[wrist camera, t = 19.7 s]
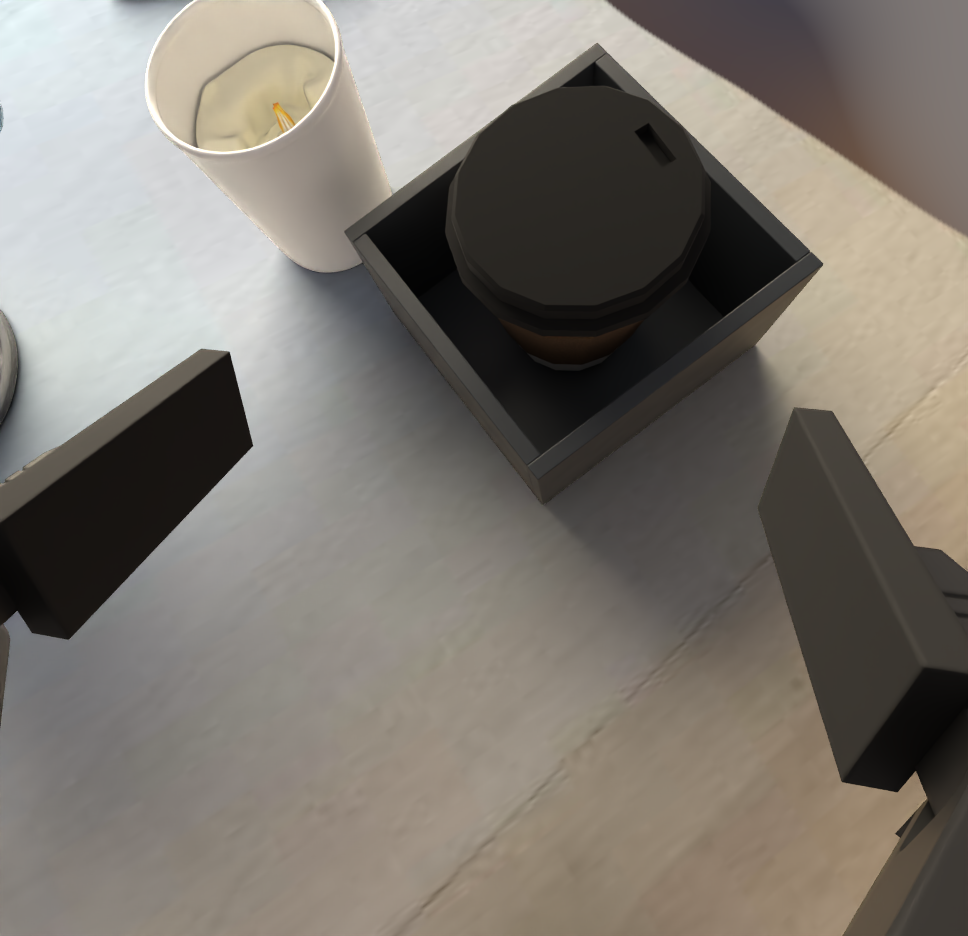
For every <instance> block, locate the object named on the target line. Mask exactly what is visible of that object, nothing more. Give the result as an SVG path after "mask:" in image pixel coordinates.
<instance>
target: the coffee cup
mask: <svg viewBox="0 0 968 936" xmlns="http://www.w3.org/2000/svg"><path fill="white" fill-rule="evenodd" d="M710 231H711V182H710V180H709V177H708V175H707V173H706V171H705V169H704V167H703V164H702V162H701V160H700V158H699V156H698V154H697V152H696V150H695V148H694V146H693V144H692V142H691V139H690V137H689V135H688V133H687V131H686V129H684V128H683V127H682V126H681V125H680V124H678V123H677V122H676V121H675V120H674V119H672V118H671V117H670V116H669V115H668V114H666V113H665V112H664V111H663V110H662V109H660V108H659V107H658V106H657V105H656V104H654V103H653V102H652V101H651V100H648V99H645V98H642V97H639V96H636V95H632V94H629V93H626V92H623V91H620V90H617V89H614V88H610V87H607V86H588V87H562V88H555V89H552V90H550V91H547V92H544V93H542V94H539V95H537V96H534V97H532V98H529V99H526V100H524V101H521V102H519V103H516V104H514V105H512V106H510V107H509V108H508V109H507V110H506V111H505V112H503V113H502V114H501V115H500V116H499V117H498V118H496V119H495V120H494V121H493V122H492V123H491V124H489V125H488V126H487V127H486V128H485V129H484V130H482V131H481V132H480V133H479V134H478V135H477V136H476V137H475V139H474V141H473V143H472V145H471V147H470V149H469V150H468V152H467V154H466V156H465V158H464V160H463V162H462V163H461V165H460V167H459V169H458V171H457V173H456V174H455V177H454V179H453V181H452V182H451V184H450V186H449V194H448V205H447V216H446V227H445V234H446V237H447V240H448V243H449V246H450V249H451V252H452V255H453V257H454V260H455V263H456V266H457V269H458V271H459V274H460V277H461V280H462V283H463V284H464V285H465V286H466V287H467V288H468V289H469V290H470V291H471V292H472V293H473V294H474V295H475V296H476V297H477V298H478V299H479V300H480V301H481V302H482V303H483V304H484V305H485V306H486V307H487V308H488V309H489V310H490V311H491V313H492V314H493V315H494V316H495V317H497V318H498V319H499V320H500V322H501V323H502V325H503V327H504V328H505V330H506V331H507V333H508V334H509V335H510V336H511V337H512V338H513V339H514V340H515V341H516V342H517V343H518V344H519V345H520V347H521V348H522V349H523V350H524V351H525V352H526V353H527V354H528V355H529V356H530V357H531V358H532V359H533V360H534V361H535V362H538V363H540V364H542V365H545V366H547V367H549V368H552V369H554V370H568V371H580V370H583V369H585V368H588V367H591V366H594V365H597V364H599V363H602V362H603V361H604V360H605V359H606V358H607V357H608V356H610V355H611V354H612V353H613V352H614V351H615V350H616V349H617V348H619V346H621V345H622V344H623V343H624V342H625V341H626V340H627V339H629V338H630V337H631V336H632V335H633V333H634V332H635V331H636V330H637V328H638V327H639V326H640V324H641V323H642V322H643V321H644V319H647V318H648V317H649V316H650V315H651V314H652V313H653V312H655V311H656V310H657V309H658V308H659V307H660V306H661V305H663V304H664V303H665V302H666V301H667V300H668V299H669V298H670V297H672V296H673V295H674V294H675V293H676V292H677V291H678V290H680V289H681V288H682V287H683V286H684V285H685V284H686V283H687V280H688V278H689V276H690V274H691V272H692V270H693V268H694V266H695V264H696V262H697V259H698V257H699V255H700V253H701V251H702V249H703V247H704V245H705V243H706V241H707V238H708V236H709V233H710Z"/></svg>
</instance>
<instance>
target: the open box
mask: <svg viewBox="0 0 968 936" xmlns="http://www.w3.org/2000/svg"><path fill="white" fill-rule="evenodd" d="M588 86H607V87H610V88H614V89H617V90H620V91H623V92H626V93H629V94H632V95H636V96H639V97H642V98H645V99H648V100H651V101H652V102H653V103H654V104H656V105H657V106H658V107H659V108H660V109H662V110H663V111H664V112H665V113H666V114H668V115H669V116H670V117H671V118H672V119H674V120H675V121H676V122H677V123H678V124H680V123H679V122H678V121H677V120H676V119H675V118H674V117H673V116H672V115H671V114H670V113H669V112H667V111H666V110H665V109H664V108H663V107H662V106H661V105H660V104H659V103H658V102H657V101H656V100H655V99H654V98H653V97H652V96H651V95H650V94H649V93H648V92H647V91H646V90H645V89H644V88H643V87H642V86H641V85H640V84H639V83H638V82H637V81H636V80H635V79H634V78H633V77H632V76H631V75H630V74H629V73H628V72H627V71H625V70H624V69H623V68H622V67H621V66H620V65H619V64H618V63H617V62H616V61H615V60H614V59H613V58H612V57H611V56H610V55H609V54H608V53H607V52H606V51H605V50H604V49H603V48H602V47H601V46H600V45H599V44H598V43H596V44H595V45H593V46H592V47H591V48H589V49H588V50H587V51H585V52H584V53H583V54H581V55H580V56H579V57H577V58H576V59H575V60H573V61H572V62H570V63H569V64H568V65H566V66H565V67H564V68H562V69H561V70H560V71H558V72H557V73H556V74H554V75H553V76H552V77H550V78H549V79H548V80H546V81H545V82H544V83H542V84H541V85H540V86H538V87H537V88H536V89H534V90H533V91H532V92H530V93H529V94H528V95H526V96H525V97H523V98H522V99H521V100H519V101H518V102H517V103H519V102H521V101H524V100H526V99H529V98H532V97H534V96H537V95H539V94H542V93H544V92H547V91H550V90H552V89H555V88H562V87H588ZM515 104H516V103H515ZM499 116H500V115H499ZM499 116H498V117H499ZM498 117H497V118H498ZM495 119H496V118H495ZM495 119H494V120H495ZM494 120H493V121H494ZM493 121H491V122H490V123H489V124H491V123H492V122H493ZM489 124H487V125H486V126H485V127H483V128H482V129H480V130H479V131H478V132H476V133H475V134H474V135H472V136H471V137H470V138H468V139H467V140H466V141H464V142H463V143H462V144H460V145H459V146H458V147H456V148H455V149H454V150H452V151H451V152H450V153H448V154H447V155H446V156H444V157H443V158H442V159H440V160H439V161H438V162H436V163H435V164H433V165H432V166H431V167H429V168H428V169H427V170H425V171H424V172H423V173H421V174H420V175H419V176H417V177H416V178H415V179H413V180H412V181H411V182H409V183H408V184H407V185H405V186H404V187H403V188H401V189H400V190H399V191H397V192H396V193H395V194H393V195H392V196H391V197H389V198H388V199H386V200H385V201H384V202H382V203H381V204H380V205H378V206H377V207H376V208H374V209H373V210H372V211H370V212H369V213H368V214H366V215H365V216H364V217H362V218H361V219H360V220H358V221H357V222H356V223H354V224H353V225H352V226H350V227H349V228H348V229H346V230H345V231H344V233H345V234H346V236H347V237H348V239H349V241H350V242H351V244H352V246H353V247H354V249H355V250H356V252H357V254H358V255H359V257H360V259H361V260H362V262H363V263H364V265H365V267H366V268H367V270H368V271H369V273H370V275H371V276H372V278H373V280H374V281H375V283H376V284H377V286H378V288H379V289H380V291H381V293H382V294H383V296H384V297H385V299H386V301H387V302H388V304H389V306H390V307H391V309H392V310H393V312H394V313H395V315H396V316H397V317H398V319H399V320H400V321H401V322H402V324H403V325H404V326H405V328H406V329H407V330H408V332H409V333H410V334H411V335H412V337H413V338H414V339H415V341H416V342H417V343H418V344H419V346H420V347H421V348H422V350H423V351H424V352H425V354H426V355H427V356H428V357H429V359H430V360H431V361H432V363H433V364H434V365H435V366H436V368H437V369H438V370H439V372H440V373H441V374H442V376H443V377H444V378H445V379H446V381H447V382H448V383H449V385H450V386H451V387H452V388H453V390H454V391H455V392H456V394H457V395H458V396H459V398H460V399H461V400H462V401H463V403H464V404H465V405H466V407H467V408H468V409H469V410H470V412H471V413H472V414H473V416H474V417H475V418H476V420H477V421H478V422H479V423H480V425H481V426H482V427H483V429H484V430H485V431H486V432H487V434H488V435H489V436H490V438H491V439H492V440H493V442H494V443H495V444H496V445H497V447H498V448H499V449H500V451H501V452H502V453H503V454H504V456H505V457H506V458H507V460H508V461H509V462H510V464H511V465H512V466H513V467H514V469H515V470H516V471H517V473H518V474H519V475H520V476H521V478H522V479H523V480H524V482H525V483H526V484H527V486H528V487H529V488H530V489H531V491H532V492H533V493H534V495H535V496H536V497H537V498H538V500H539V501H540V502H541V504H542V505H544V504H545V503H547V502H548V501H549V500H551V499H552V498H553V497H555V496H556V495H557V494H559V493H560V492H561V491H563V490H564V489H565V488H567V487H568V486H569V485H571V484H572V483H573V482H575V481H576V480H577V479H578V478H580V477H581V476H582V475H584V474H585V473H586V472H588V471H589V470H590V469H592V468H593V467H594V466H596V465H597V464H598V463H600V462H601V461H602V460H604V459H605V458H606V457H608V456H609V455H610V454H612V453H613V452H614V451H616V450H617V449H618V448H619V447H621V446H622V445H623V444H625V443H626V442H627V441H629V440H630V439H631V438H633V437H634V436H635V435H637V434H638V433H639V432H641V431H642V430H643V429H645V428H646V427H647V426H649V425H650V424H651V423H653V422H654V421H655V420H657V419H658V418H659V417H660V416H662V415H663V414H664V413H666V412H667V411H668V410H670V409H671V408H672V407H674V406H675V405H676V404H678V403H679V402H680V401H682V400H683V399H684V398H686V397H687V396H688V395H690V394H691V393H692V392H694V391H695V390H696V389H698V388H699V387H700V386H701V385H703V384H704V383H705V382H707V381H708V380H709V379H711V378H712V377H713V376H715V375H716V374H717V373H719V372H720V371H721V370H723V369H724V368H725V367H727V366H728V365H729V364H731V363H732V362H733V361H735V360H736V359H737V358H739V357H740V356H741V355H742V354H744V353H745V352H746V351H748V350H749V349H750V348H752V347H753V346H754V345H756V343H757V342H758V341H759V340H760V339H761V338H762V336H763V335H764V334H765V333H766V332H767V330H768V329H769V328H770V327H771V326H772V325H773V323H774V322H775V321H776V320H777V319H778V317H779V316H780V315H781V314H782V313H783V312H784V310H785V309H786V308H787V307H788V306H789V305H790V303H791V302H792V301H793V300H794V299H795V297H796V296H797V295H798V294H799V293H800V292H801V290H802V289H803V288H804V287H805V286H806V284H807V283H808V282H809V281H810V280H811V279H812V277H813V276H814V275H815V274H816V273H817V272H818V270H819V269H820V268H821V267H822V266H823V263H822V262H821V261H820V260H819V259H818V258H817V257H816V256H815V255H814V254H813V253H812V252H810V250H809V249H808V248H807V247H806V246H805V245H804V244H803V243H802V242H801V241H800V240H799V239H798V238H797V237H796V236H795V235H793V234H792V233H791V232H790V231H789V230H788V229H787V228H786V227H785V226H784V225H783V224H782V223H781V222H780V221H779V220H778V219H777V218H776V217H775V216H774V215H773V214H772V213H771V212H770V211H769V210H768V209H767V208H766V207H765V206H764V205H763V204H762V203H761V202H760V201H759V200H758V199H757V198H756V197H755V196H754V195H753V194H751V193H750V192H749V191H748V190H747V189H746V188H745V187H744V186H743V185H742V184H741V183H740V182H739V181H738V180H737V179H736V178H735V177H734V176H733V175H732V174H731V173H730V172H729V171H728V170H727V169H726V168H725V167H724V166H723V165H722V164H721V163H720V162H719V161H718V160H717V159H716V158H715V157H714V156H713V155H712V154H711V153H709V152H708V151H707V150H706V149H705V148H704V147H703V146H702V145H701V144H700V143H699V142H698V141H697V140H696V139H695V138H694V137H693V136H692V135H691V134H690V133H689V132H688V131H687V130H686V131H687V133H688V135H689V137H690V139H691V142H692V144H693V146H694V148H695V150H696V152H697V154H698V156H699V158H700V160H701V162H702V164H703V167H704V169H705V171H706V173H707V175H708V177H709V180H710V182H711V231H710V233H709V236H708V238H707V241H706V243H705V245H704V247H703V249H702V251H701V253H700V255H699V257H698V259H697V262H696V264H695V266H694V268H693V270H692V272H691V274H690V276H689V278H688V280H687V283H686V284H685V285H684V286H683V287H682V288H681V289H680V290H678V291H677V292H676V293H675V294H674V295H673V296H672V297H670V298H669V299H668V300H667V301H666V302H665V303H664V304H663V305H661V306H660V307H659V308H658V309H657V310H656V311H655V312H653V313H652V314H651V315H650V316H649V317H648V318H647V319H644V321H643V322H642V323H641V324H640V326H639V327H638V328H637V330H636V331H635V332H634V333H633V335H632V336H631V337H630V338H629V339H627V340H626V341H625V342H624V343H623V344H622V345H621V346H619V348H617V349H616V350H615V351H614V352H613V353H612V354H611V355H610V356H608V357H607V358H606V359H605V360H604V361H603V362H602V363H599V364H597V365H594V366H591V367H588V368H585V369H583V370H580V371H568V370H554V369H552V368H549V367H547V366H545V365H542V364H540V363H538V362H535V361H534V360H533V359H532V358H531V357H530V356H529V355H528V354H527V353H526V352H525V351H524V350H523V349H522V348H521V347H520V345H519V344H518V343H517V342H516V341H515V340H514V339H513V338H512V337H511V336H510V335H509V334H508V333H507V331H506V330H505V328H504V327H503V325H502V323H501V322H500V320H499V319H498V318H497V317H495V316H494V315H493V314H492V313H491V311H490V310H489V309H488V308H487V307H486V306H485V305H484V304H483V303H482V302H481V301H480V300H479V299H478V298H477V297H476V296H475V295H474V294H473V293H472V292H471V291H470V290H469V289H468V288H467V287H466V286H465V285H464V284H463V283H462V280H461V277H460V274H459V271H458V269H457V266H456V263H455V260H454V257H453V255H452V252H451V249H450V246H449V243H448V240H447V237H446V234H445V227H446V216H447V205H448V194H449V186H450V184H451V182H452V181H453V179H454V177H455V174H456V173H457V171H458V169H459V167H460V165H461V163H462V162H463V160H464V158H465V156H466V154H467V152H468V150H469V149H470V147H471V145H472V143H473V141H474V139H475V137H476V136H477V135H478V134H479V133H480V132H481V131H482V130H484V129H485V128H486V127H487V126H488V125H489ZM680 125H681V124H680ZM681 126H682V125H681ZM682 127H683V126H682ZM683 128H684V127H683ZM684 129H685V128H684Z"/></svg>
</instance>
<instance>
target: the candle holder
mask: <svg viewBox="0 0 968 936" xmlns="http://www.w3.org/2000/svg"><path fill="white" fill-rule="evenodd" d="M145 94H146V101H147V105H148V108H149V111H150V114H151V116H152V118H153V120H154V122H155V124H156V125H157V127H158V128H159V130H160V131H161V132H162V134H163V135H164V136H165V137H166V138H167V139H168V140H169V141H170V142H171V143H172V144H174V145H175V146H176V147H177V148H179V149H180V150H181V151H182V152H183V153H184V154H185V155H186V156H187V157H188V158H189V159H190V160H191V161H192V162H193V163H194V164H195V165H196V166H197V167H198V168H199V169H200V170H201V171H202V172H203V173H204V174H205V175H206V176H207V177H208V178H209V179H210V180H211V181H212V182H213V183H214V184H215V185H216V186H217V187H218V188H219V189H220V190H221V191H222V192H223V193H224V194H225V195H226V196H227V197H228V198H229V199H230V200H231V201H232V202H233V203H234V204H235V205H236V206H237V207H238V208H239V209H240V210H241V211H242V212H243V213H244V214H245V215H246V216H247V217H248V218H249V219H250V220H251V221H252V222H253V223H254V224H255V225H256V226H257V227H258V228H259V229H260V230H261V231H262V232H263V233H264V234H265V235H266V236H267V237H268V238H269V239H270V240H271V241H272V242H273V243H274V244H275V245H276V246H277V247H278V248H279V249H280V250H281V251H282V252H283V253H284V254H285V255H286V256H287V257H289V258H290V259H291V260H292V261H294V262H295V263H296V264H298V265H300V266H302V267H304V268H306V269H309V270H312V271H317V272H326V273H329V272H339V271H343V270H347V269H350V268H353V267H355V266H357V265H359V264H361V263H362V260H361V259H360V257H359V255H358V254H357V252H356V250H355V249H354V247H353V246H352V244H351V242H350V241H349V239H348V237H347V236H346V234H345V233H344V231H345V230H346V229H348V228H349V227H350V226H352V225H353V224H354V223H356V222H357V221H358V220H360V219H361V218H362V217H364V216H365V215H366V214H368V213H369V212H370V211H372V210H373V209H374V208H376V207H377V206H378V205H380V204H381V203H382V202H384V201H385V200H386V199H388V198H389V197H391V196H392V191H391V188H390V185H389V181H388V178H387V175H386V172H385V169H384V166H383V163H382V160H381V157H380V154H379V151H378V148H377V145H376V142H375V139H374V136H373V133H372V130H371V128H370V125H369V122H368V119H367V116H366V113H365V110H364V107H363V104H362V101H361V98H360V95H359V92H358V89H357V86H356V83H355V80H354V77H353V74H352V72H351V69H350V66H349V63H348V60H347V57H346V54H345V51H344V48H343V43H342V38H341V34H340V31H339V28H338V26H337V23H336V21H335V19H334V17H333V15H332V14H331V12H330V11H329V9H328V8H327V7H326V6H325V4H324V3H323V2H322V1H321V0H194V1H193V2H191V3H190V4H189V5H187V6H186V7H185V8H184V9H183V10H181V11H180V12H179V13H178V14H177V15H176V16H175V17H174V18H173V19H172V21H171V22H170V23H169V24H168V25H167V27H166V28H165V29H164V31H163V32H162V34H161V35H160V37H159V39H158V40H157V42H156V44H155V46H154V48H153V50H152V53H151V55H150V58H149V62H148V65H147V70H146V77H145Z"/></svg>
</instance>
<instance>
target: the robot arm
mask: <svg viewBox="0 0 968 936" xmlns="http://www.w3.org/2000/svg"><path fill="white" fill-rule="evenodd" d="M2 127H3V110H2V106H1V102H0V132H1V129H2ZM17 370H18V355H17V347H16V342H15V338H14V334H13V331H12V329H11V326H10V324H9V322H8V320H7V318H6V317H5V315H4V314H3V312H2V311H1V310H0V425H1V423H2V421H3V420H4V418H5V416H6V413H7V411H8V409H9V406H10V403H11V400H12V397H13V394H14V390H15V386H16V379H17ZM252 447H253V443H252V439H251V435H250V431H249V427H248V423H247V419H246V415H245V411H244V407H243V403H242V399H241V395H240V391H239V387H238V384H237V380H236V376H235V372H234V368H233V364H232V360H231V356H230V352H228V351H218V350H207V349H200V350H199V351H197V352H196V353H194V354H193V355H191V356H190V357H189V358H187V359H186V360H184V361H183V362H181V363H180V364H178V365H177V366H176V367H174V368H173V369H171V370H170V371H168V372H167V373H165V374H164V375H162V376H161V377H160V378H158V379H157V380H155V381H154V382H152V383H151V384H149V385H148V386H147V387H145V388H144V389H142V390H141V391H139V392H138V393H136V394H135V395H133V396H132V397H131V398H129V399H128V400H126V401H125V402H123V403H122V404H120V405H119V406H118V407H116V408H115V409H113V410H112V411H110V412H109V413H107V414H106V415H104V416H103V417H102V418H100V419H99V420H97V421H96V422H94V423H93V424H91V425H90V426H89V427H87V428H86V429H84V430H83V431H81V432H80V433H78V434H77V435H75V436H74V437H73V438H71V439H70V440H68V441H67V442H65V443H64V444H62V445H61V446H59V447H56V448H54V449H52V450H49V451H47V452H45V453H43V454H42V455H40V456H39V457H37V458H36V459H34V460H33V461H32V462H30V463H29V464H27V465H26V466H24V467H23V470H22V471H17V472H15V473H14V474H12V475H11V476H10V477H8V478H7V479H5V483H0V726H1V717H2V708H3V700H4V691H5V682H6V673H7V665H8V656H9V647H10V636H9V632H8V630H7V629H6V627H5V626H4V623H5V622H6V621H7V620H8V619H9V618H10V617H11V616H12V615H13V614H14V613H16V612H17V611H18V612H19V614H20V615H21V617H22V618H23V620H24V621H25V623H26V624H27V626H28V628H29V629H30V631H31V632H32V633H35V634H40V635H45V636H51V637H56V638H62V639H67V640H69V639H70V638H71V637H72V636H73V635H74V634H75V633H76V632H77V631H78V630H79V629H80V627H81V626H82V625H83V624H84V623H85V622H86V621H87V620H88V619H89V618H90V617H91V616H92V615H93V614H94V613H95V612H96V611H97V610H98V609H99V607H100V606H101V605H102V604H103V603H104V602H105V601H106V600H107V599H108V598H109V597H110V596H111V595H112V594H113V593H114V592H115V591H116V590H117V589H118V587H119V586H120V585H121V584H122V583H123V582H124V581H125V580H126V579H127V578H128V577H129V576H130V575H131V574H132V573H133V572H134V571H135V570H136V569H137V568H138V566H139V565H140V564H141V563H142V562H143V561H144V560H145V559H146V558H147V557H148V556H149V555H150V554H151V553H152V552H153V551H154V550H155V549H156V548H157V546H158V545H159V544H160V543H161V542H162V541H163V540H164V539H165V538H166V537H167V536H168V535H169V534H170V533H171V532H172V531H173V530H174V529H175V528H176V526H177V525H178V524H179V523H180V522H181V521H182V520H183V519H184V518H185V517H186V516H187V515H188V514H189V513H190V512H191V511H192V510H193V509H194V508H195V506H196V505H197V504H198V503H199V502H200V501H201V500H202V499H203V498H204V497H205V496H206V495H207V494H208V493H209V492H210V491H211V490H212V489H213V488H214V486H215V485H216V484H217V483H218V482H219V481H220V480H221V479H222V478H223V477H224V476H225V475H226V474H227V473H228V472H229V471H230V470H231V469H232V468H233V466H234V465H235V464H236V463H237V462H238V461H239V460H240V459H241V458H242V457H243V456H244V455H245V454H246V453H247V452H248V451H249V450H250V449H251V448H252ZM758 511H759V515H760V518H761V521H762V524H763V528H764V531H765V534H766V537H767V541H768V544H769V547H770V550H771V554H772V557H773V560H774V563H775V567H776V570H777V573H778V576H779V580H780V583H781V586H782V589H783V593H784V596H785V599H786V602H787V606H788V609H789V612H790V615H791V618H792V622H793V625H794V628H795V631H796V635H797V638H798V641H799V644H800V648H801V651H802V654H803V657H804V661H805V664H806V667H807V670H808V674H809V677H810V680H811V683H812V687H813V690H814V693H815V696H816V700H817V703H818V706H819V709H820V713H821V716H822V719H823V722H824V726H825V729H826V732H827V735H828V739H829V742H830V745H831V748H832V751H833V755H834V758H835V761H836V764H837V768H838V771H839V774H840V777H841V781H842V782H844V783H850V784H855V785H861V786H866V787H872V788H877V789H882V790H888V791H893V792H898V791H899V790H900V789H901V788H902V786H903V785H904V784H905V783H906V782H907V780H908V779H909V778H910V777H911V776H912V775H913V773H914V772H915V771H916V772H917V774H918V777H919V779H920V781H921V784H922V786H923V789H924V791H925V793H926V796H927V800H926V801H925V802H924V803H923V804H922V805H921V806H920V807H919V808H918V809H917V810H916V812H915V813H914V814H913V815H912V816H911V817H910V818H909V819H908V820H907V821H906V823H905V824H904V825H903V826H902V827H901V828H900V829H899V830H898V831H897V832H896V833H895V834H896V835H897V836H899V837H900V840H899V842H898V843H897V845H896V847H895V848H894V850H893V852H892V853H891V855H890V857H889V858H888V860H887V862H886V863H885V865H884V867H883V868H882V870H881V872H880V873H879V875H878V877H877V878H876V880H875V882H874V884H873V885H872V887H871V889H870V890H869V892H868V894H867V895H866V897H865V899H864V900H863V902H862V904H861V905H860V907H859V909H858V910H857V912H856V914H855V915H854V917H853V919H852V921H851V922H850V924H849V926H848V927H847V929H846V931H845V932H844V934H843V936H968V572H967V571H966V570H965V569H963V568H962V567H961V566H960V565H959V564H957V563H956V562H955V561H954V560H953V559H951V558H950V557H949V556H948V555H947V554H945V553H944V552H943V551H942V550H939V549H931V548H924V547H916V546H914V545H913V543H912V542H911V540H910V538H909V537H908V535H907V533H906V532H905V530H904V529H903V527H902V525H901V524H900V522H899V520H898V519H897V517H896V515H895V514H894V512H893V510H892V509H891V507H890V505H889V504H888V502H887V501H886V499H885V497H884V496H883V494H882V492H881V491H880V489H879V487H878V486H877V484H876V482H875V481H874V479H873V477H872V476H871V474H870V473H869V471H868V469H867V468H866V466H865V464H864V463H863V461H862V459H861V458H860V456H859V454H858V453H857V451H856V449H855V448H854V446H853V444H852V443H851V441H850V440H849V438H848V436H847V435H846V433H845V431H844V430H843V428H842V426H841V425H840V423H839V421H838V420H837V418H836V416H835V415H834V413H833V412H832V411H826V410H816V409H805V408H795V407H794V409H793V411H792V414H791V417H790V420H789V422H788V425H787V428H786V431H785V433H784V436H783V439H782V442H781V444H780V447H779V450H778V453H777V455H776V458H775V461H774V464H773V466H772V469H771V472H770V475H769V477H768V480H767V483H766V486H765V488H764V491H763V494H762V497H761V499H760V502H759V505H758Z"/></svg>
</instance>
